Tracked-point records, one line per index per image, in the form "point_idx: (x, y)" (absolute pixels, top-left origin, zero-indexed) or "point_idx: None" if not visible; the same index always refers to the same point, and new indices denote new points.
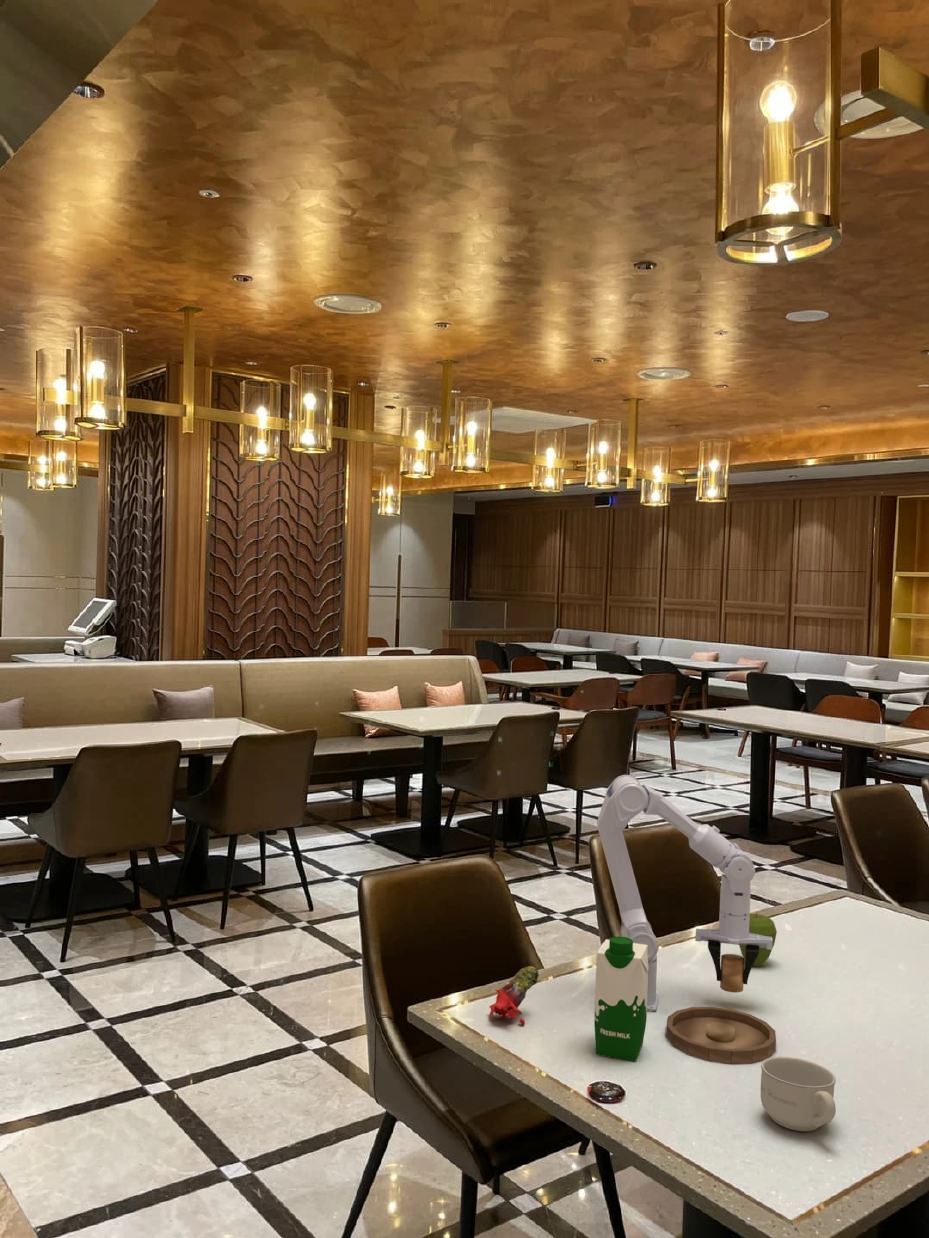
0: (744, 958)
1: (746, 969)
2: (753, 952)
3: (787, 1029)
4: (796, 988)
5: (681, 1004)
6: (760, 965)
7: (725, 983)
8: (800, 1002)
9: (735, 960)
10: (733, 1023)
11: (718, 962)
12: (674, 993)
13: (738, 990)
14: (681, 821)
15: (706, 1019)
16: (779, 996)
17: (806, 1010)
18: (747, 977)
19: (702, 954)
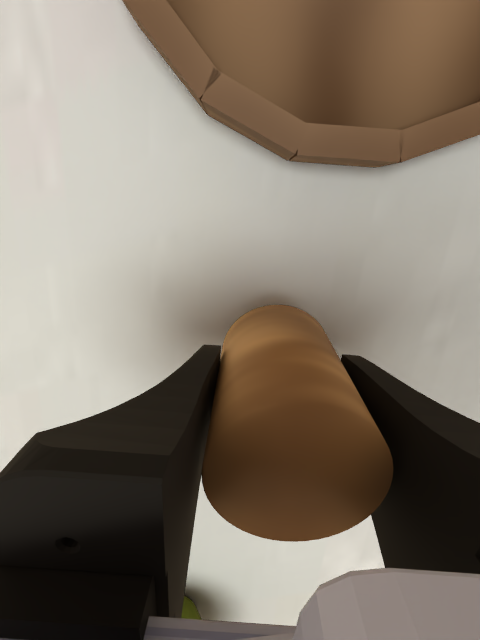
0: (201, 619)
1: (194, 378)
2: (56, 461)
3: (47, 124)
4: None
5: (464, 289)
6: None
7: (318, 330)
8: (34, 405)
9: (281, 430)
10: (287, 79)
11: (416, 408)
12: (460, 384)
13: (247, 315)
14: None
15: (414, 98)
16: None
17: (5, 346)
18: (195, 355)
19: None
